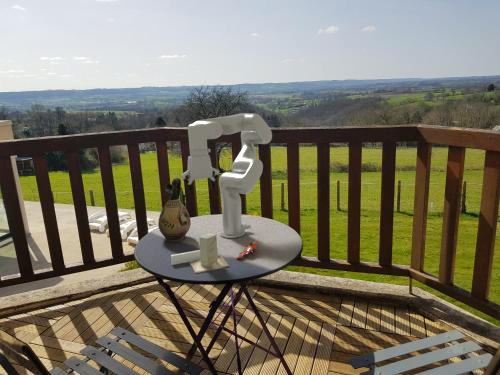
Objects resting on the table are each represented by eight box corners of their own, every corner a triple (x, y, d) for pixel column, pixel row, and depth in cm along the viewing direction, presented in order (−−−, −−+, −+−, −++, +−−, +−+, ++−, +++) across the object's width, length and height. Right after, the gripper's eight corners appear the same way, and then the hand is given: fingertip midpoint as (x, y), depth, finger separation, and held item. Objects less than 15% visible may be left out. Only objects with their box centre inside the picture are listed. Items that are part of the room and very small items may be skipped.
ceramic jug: (183, 245, 171) (178, 183, 163) (153, 243, 175) (148, 182, 167) (197, 233, 186) (194, 175, 179) (170, 230, 191) (166, 174, 183)
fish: (254, 237, 166) (264, 244, 159) (254, 247, 167) (264, 254, 160) (229, 243, 160) (238, 250, 152) (229, 253, 161) (238, 260, 154)
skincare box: (208, 267, 147) (207, 239, 144) (200, 264, 149) (198, 237, 146) (218, 261, 152) (217, 234, 149) (209, 259, 154) (208, 232, 151)
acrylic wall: (217, 255, 159) (216, 246, 158) (217, 256, 159) (217, 247, 158) (171, 264, 152) (170, 255, 151) (171, 265, 151) (171, 256, 150)
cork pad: (221, 257, 158) (221, 255, 157) (228, 266, 149) (228, 265, 148) (189, 263, 152) (189, 261, 152) (195, 273, 143) (195, 271, 143)
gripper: (214, 149, 163) (217, 186, 167) (176, 153, 156) (180, 192, 160) (220, 151, 156) (223, 190, 161) (181, 156, 149) (184, 196, 154)
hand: (201, 191), depth 160 cm, fingers open, 9 cm apart
